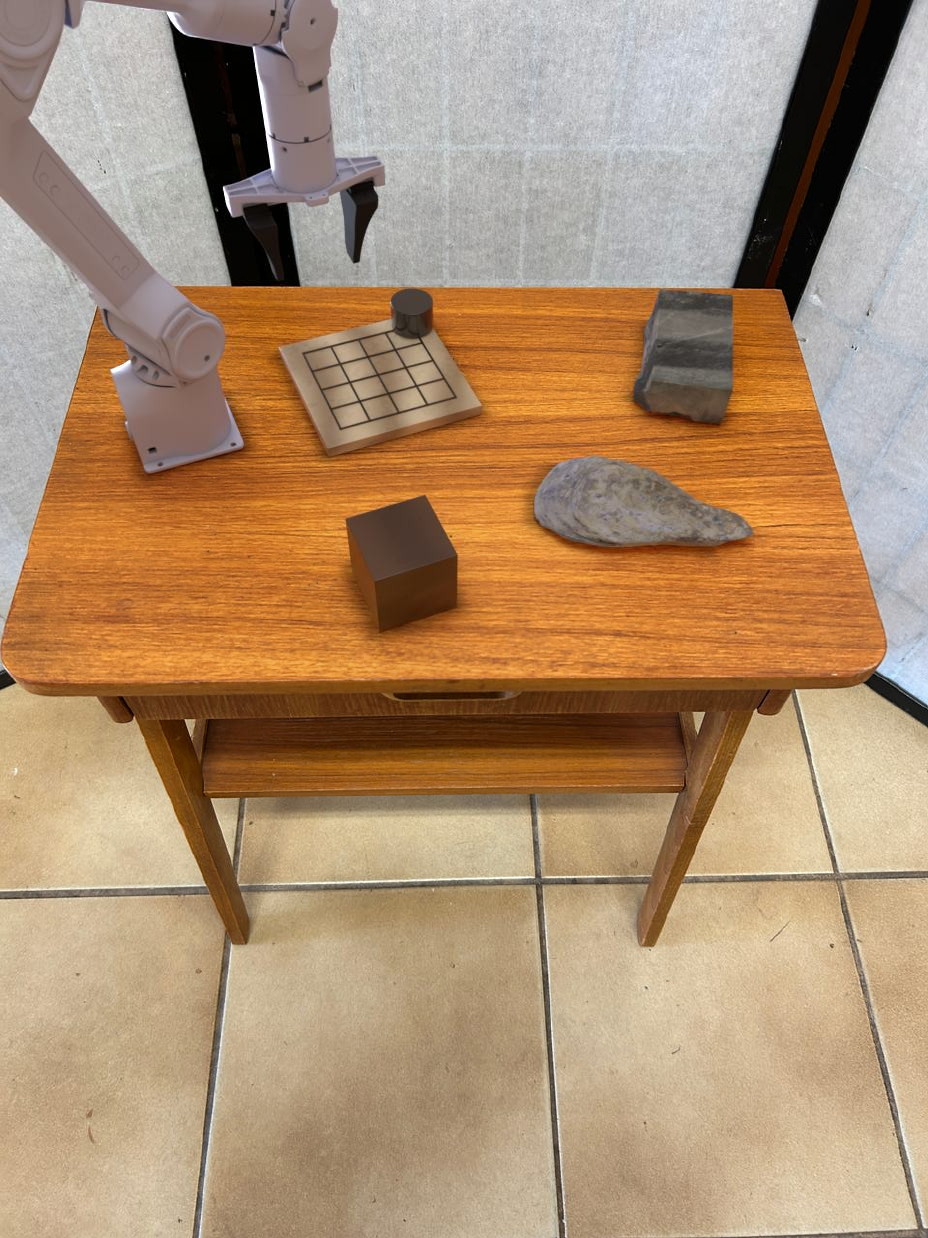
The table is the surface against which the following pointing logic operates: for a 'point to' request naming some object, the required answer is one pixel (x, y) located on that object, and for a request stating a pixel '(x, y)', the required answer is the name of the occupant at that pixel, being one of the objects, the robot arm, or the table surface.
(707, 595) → the table surface
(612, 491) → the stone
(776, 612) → the table surface
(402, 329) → the black cylinder
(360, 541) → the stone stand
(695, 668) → the table surface
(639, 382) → the stone block
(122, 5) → the robot arm
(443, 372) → the grid board
